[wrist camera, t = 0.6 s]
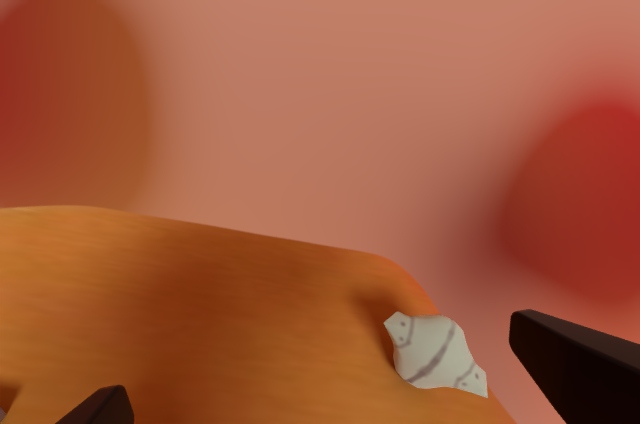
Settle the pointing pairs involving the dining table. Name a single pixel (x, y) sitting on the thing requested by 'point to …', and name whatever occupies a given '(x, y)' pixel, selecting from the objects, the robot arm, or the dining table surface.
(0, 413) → the plate
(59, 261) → the dining table surface
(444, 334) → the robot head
